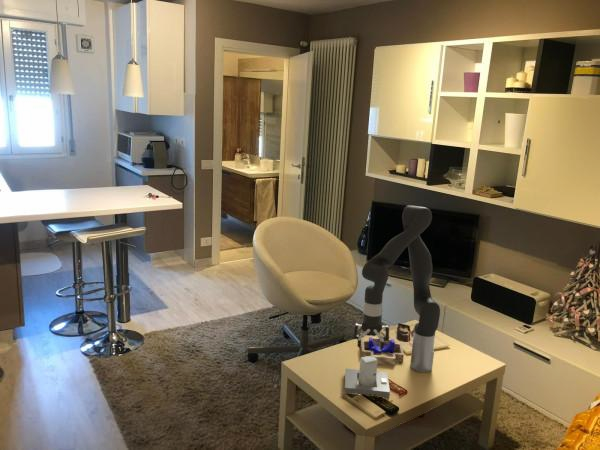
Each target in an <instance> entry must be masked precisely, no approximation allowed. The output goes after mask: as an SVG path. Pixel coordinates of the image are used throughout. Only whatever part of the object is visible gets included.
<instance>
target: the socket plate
mask: <svg viewBox="0 0 600 450" xmlns="http://www.w3.org/2000/svg"><path fill="white" fill-rule="evenodd" d="M359 371H360V369H356V368H354V369H353V368H345V371H344V395H347V394H346V393H357V394H377V395H379V396H381V397H384V398H383V399H390V395H391V391H390V383H389V373H388V372H387V371H377V372H376V383H375V386H373V387H368V386H359V383H358V382H359Z"/></svg>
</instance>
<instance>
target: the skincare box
mask: <svg viewBox="0 0 600 450" xmlns="http://www.w3.org/2000/svg"><path fill="white" fill-rule="evenodd" d="M377 361H378V360H377V359H376V358H375V357H374V356H366V357H362V356H361V357H360V362H359V370H360V371H359V382H358V383H359V385H360V386H368V387H373V386H375V383H376V372H377V370H378V364H377Z"/></svg>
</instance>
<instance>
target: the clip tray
mask: <svg viewBox="0 0 600 450" xmlns="http://www.w3.org/2000/svg"><path fill="white" fill-rule="evenodd" d="M370 337H371V338H372V341H373V343H374V344H375V345H376V346H380V339H379V338H378V337H376V336H370ZM391 339H392V338H389V340H388V341H384V347H385V346H387V345H388V344H389V343H390V342H391ZM368 344H369V340H366V339H365V340H364V339H361V357H366V356H374V357H375V358H376V359H377V360H378V361H377V365H388V366H396V362H404V355H405V354H404V349H403V344H402V343H400V342H395V345H394V353H393V354H392V353H391V355H392V356H385V355H375V354H374V353H373V351H368ZM365 349H367V350H365ZM395 351H396V352H395ZM397 351H398V352H397Z"/></svg>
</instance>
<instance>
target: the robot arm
mask: <svg viewBox="0 0 600 450" xmlns="http://www.w3.org/2000/svg"><path fill="white" fill-rule="evenodd" d="M401 218H402V225H403V226H402V227H403V230H404V231H401V233H399V234H397V235H395V236H394V237H393V238H391V239H390V240H389V241H388V242H387V243H386V244H385V245H384V247H383V248H382V249H381V250H380V251H379V252H378V253H377V254H375V255H374V256H373V257H372V258H371V259H369V260H368V261H366V263H365V264H364V265H363V267H362V270H361V276H362V277H363V279H365V280H367V281H369V282H373V285H368V286H366V288H365V292H364V303H363V308H362V309H363V310H362V323H361V324H359V323H357V322H354V327H353V339H354V340H357V348H358V349H359V350H360V349H361V344H362V340H363V338H365V336H367V337H368V336H369V337H376V336H377V338H379V339H380V345H379V347H380V350H382V349H383V348H384V347H385V346H384V341H388V340H389V339H390V327H389V324H386V325H382V317H383V295H384V290H385V288H386V285H387V282H388V280H389V271H388V269H387V268H386V267H391V266H393V265H394V264H395V263H396V261H397V260H398V258H399V257H400V256H401V255H402V253H403V252H404V251H405V249H408V257H409V258H408V259H409V267H410V268H409V269H410V274H411V280H412V286H413V287H412V288H413V308H414V310H415V313H417V314H418V316H419V318H418V322H417V323H416V324H415V325H414V327H413V328H414V329H413V334H412V335H413V337H412V346H411V355H410V368H411V369H412V370H414V371H416V372H420V373H428V372H432V371H433V365H434V357H435V351H434V347H435V346H434V345H435V338H436V332H437V330H438V328H439V321H440V317H441V307H440V305H439V303H437V302H436V301H435V299H433V297H432V293H431V288H430V281H431V278H432V275H433V261H432V254H431V253H430V251H429V249H428V247H427V246H426V244H425V242H424V241H423V239H422V238H421V234H423V232H424V231H425V230H426V229H427V228H428V227H429V226H430V224H431V223H432V220H433V214H432V211H431V209H429V208H428V207H425V206H417V205H407V206H405V207H404V208H403V210H402V215H401ZM360 329H361V331H360V333H359V334H358V331H359V330H360ZM382 330H383V331H384V332H385V334H384V335H385V336H383V334H382V332H381V331H382Z"/></svg>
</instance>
